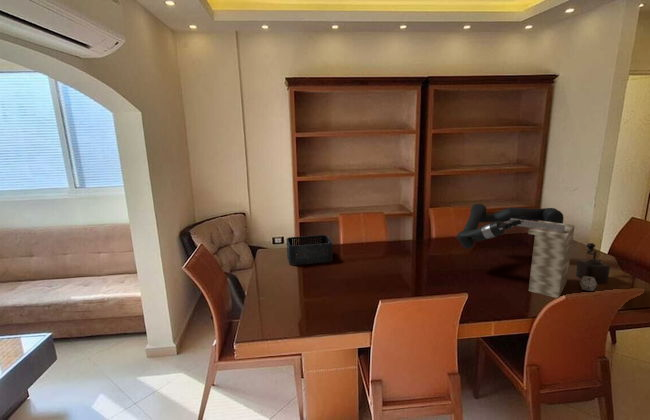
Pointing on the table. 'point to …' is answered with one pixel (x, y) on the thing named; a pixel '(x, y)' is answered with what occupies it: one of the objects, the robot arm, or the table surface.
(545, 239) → the zigzag patterned box
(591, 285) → the game die
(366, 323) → the table surface
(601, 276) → the black coffee grinder
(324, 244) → the storage bin
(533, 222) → the steel bar
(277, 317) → the table surface
